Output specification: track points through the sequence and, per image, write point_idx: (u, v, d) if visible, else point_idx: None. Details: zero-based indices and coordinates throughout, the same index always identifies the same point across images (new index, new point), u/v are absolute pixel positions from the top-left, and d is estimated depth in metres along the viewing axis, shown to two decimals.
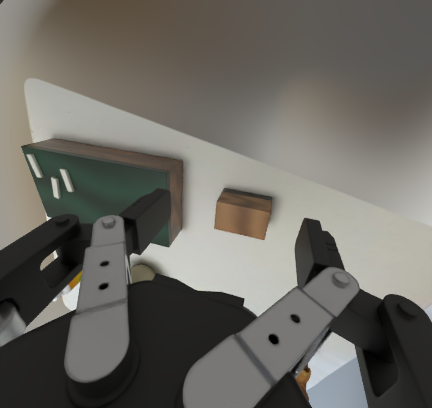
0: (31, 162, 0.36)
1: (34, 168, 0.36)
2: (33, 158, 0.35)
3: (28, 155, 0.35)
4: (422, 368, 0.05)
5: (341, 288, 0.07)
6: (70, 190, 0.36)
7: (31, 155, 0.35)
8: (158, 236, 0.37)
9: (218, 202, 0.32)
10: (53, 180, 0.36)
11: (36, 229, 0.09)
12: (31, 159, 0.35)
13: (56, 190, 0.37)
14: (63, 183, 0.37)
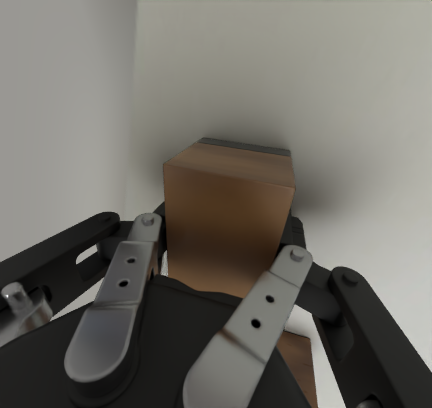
0: None
1: None
2: None
3: None
4: (370, 327, 0.06)
5: (296, 261, 0.08)
6: None
7: None
8: None
9: None
10: None
11: (81, 223, 0.09)
12: None
13: None
14: None
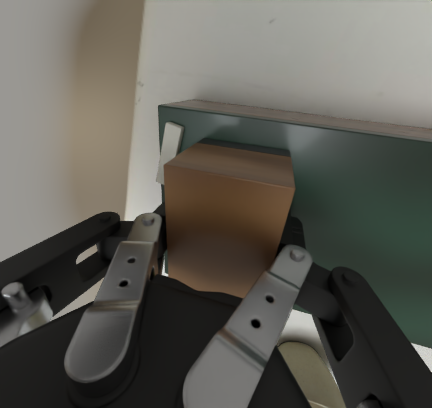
0: (167, 146, 0.13)
1: (166, 161, 0.13)
2: (180, 139, 0.13)
3: (171, 127, 0.12)
4: (370, 327, 0.06)
5: (296, 261, 0.08)
6: None
7: (180, 130, 0.12)
8: None
9: None
10: None
11: (81, 223, 0.09)
12: (173, 141, 0.13)
13: None
14: None
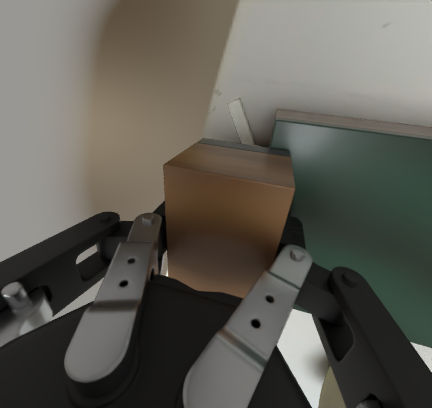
0: None
1: None
2: None
3: None
4: (370, 327, 0.06)
5: (296, 261, 0.08)
6: None
7: None
8: None
9: None
10: None
11: (81, 223, 0.09)
12: None
13: None
14: (367, 231, 0.13)
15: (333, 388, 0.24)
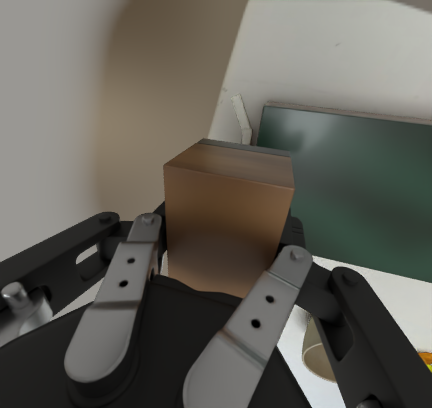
0: None
1: None
2: (233, 104, 0.24)
3: None
4: (370, 327, 0.06)
5: (296, 261, 0.08)
6: None
7: None
8: None
9: None
10: None
11: (81, 223, 0.09)
12: None
13: None
14: (326, 180, 0.19)
15: (314, 325, 0.31)
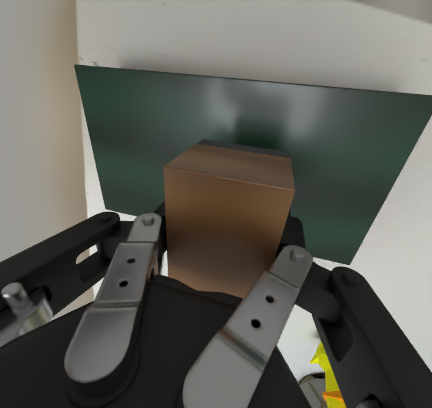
0: None
1: None
2: None
3: None
4: (371, 327, 0.06)
5: (296, 261, 0.08)
6: None
7: None
8: (335, 244, 0.19)
9: None
10: None
11: (81, 223, 0.09)
12: None
13: None
14: (152, 142, 0.19)
15: None
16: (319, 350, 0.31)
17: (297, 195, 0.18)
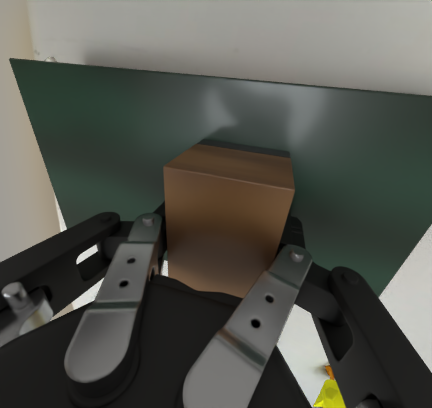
0: None
1: None
2: None
3: None
4: (370, 327, 0.06)
5: (295, 261, 0.08)
6: None
7: None
8: None
9: None
10: None
11: (82, 223, 0.09)
12: None
13: None
14: (114, 159, 0.15)
15: None
16: (324, 392, 0.27)
17: None
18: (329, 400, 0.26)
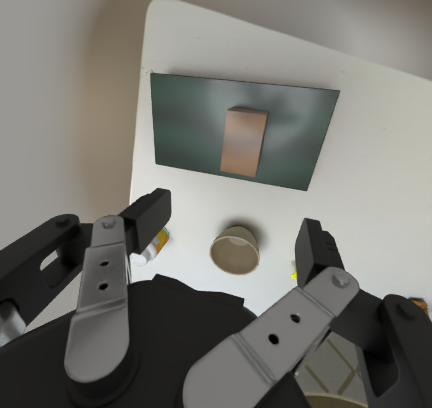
0: None
1: None
2: None
3: None
4: (422, 368, 0.05)
5: (341, 288, 0.07)
6: None
7: None
8: (297, 177, 0.33)
9: (220, 169, 0.30)
10: None
11: (36, 229, 0.09)
12: None
13: None
14: (191, 118, 0.33)
15: None
16: None
17: (275, 147, 0.32)
18: None
